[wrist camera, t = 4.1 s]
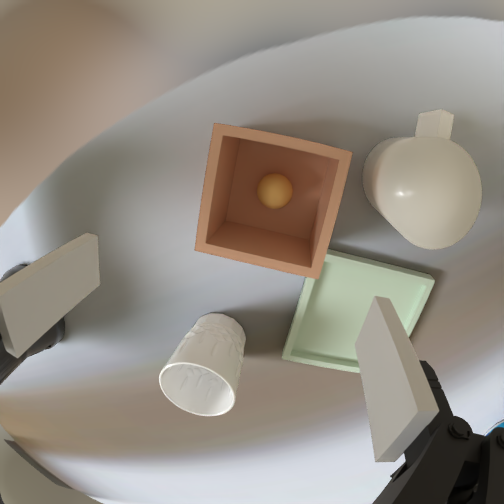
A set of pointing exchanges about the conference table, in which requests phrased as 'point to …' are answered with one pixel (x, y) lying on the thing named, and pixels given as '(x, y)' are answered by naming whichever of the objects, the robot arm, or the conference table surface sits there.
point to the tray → (349, 308)
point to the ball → (274, 191)
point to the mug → (425, 183)
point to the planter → (261, 217)
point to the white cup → (206, 366)
